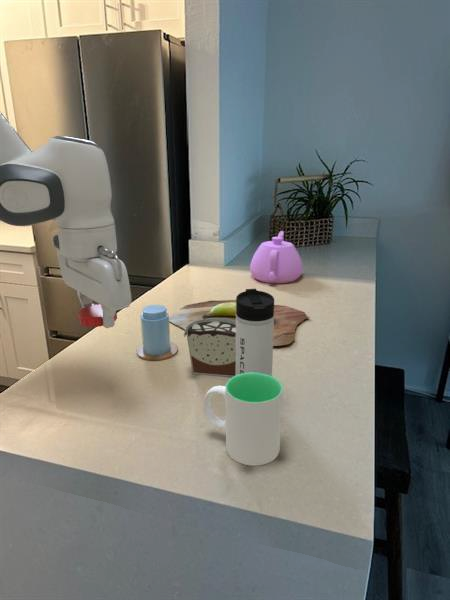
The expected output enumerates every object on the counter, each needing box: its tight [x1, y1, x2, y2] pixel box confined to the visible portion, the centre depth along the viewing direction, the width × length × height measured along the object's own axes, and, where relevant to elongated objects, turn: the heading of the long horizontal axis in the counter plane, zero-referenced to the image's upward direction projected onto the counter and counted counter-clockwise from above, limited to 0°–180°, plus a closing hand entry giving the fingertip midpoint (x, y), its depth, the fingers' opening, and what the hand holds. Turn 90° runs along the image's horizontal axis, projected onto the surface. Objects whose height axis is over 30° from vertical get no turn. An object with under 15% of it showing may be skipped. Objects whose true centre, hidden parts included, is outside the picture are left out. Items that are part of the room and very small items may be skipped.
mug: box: [203, 372, 283, 467], centre depth 64 cm, size 12×8×10 cm, turn 67°
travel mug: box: [235, 288, 275, 377], centre depth 73 cm, size 6×7×20 cm
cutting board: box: [169, 299, 311, 347], centre depth 110 cm, size 35×27×4 cm
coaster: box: [136, 341, 179, 362], centre depth 95 cm, size 9×9×1 cm
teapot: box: [249, 230, 304, 284], centre depth 145 cm, size 25×18×14 cm
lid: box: [77, 303, 118, 328], centre depth 75 cm, size 6×6×2 cm
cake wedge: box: [183, 318, 236, 378], centre depth 86 cm, size 12×6×10 cm, turn 80°
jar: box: [140, 304, 171, 355], centre depth 93 cm, size 6×6×10 cm
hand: (98, 319), depth 75 cm, fingers closed on lid, 6 cm apart
